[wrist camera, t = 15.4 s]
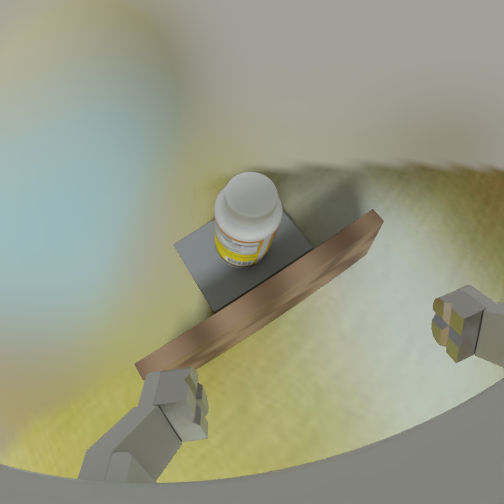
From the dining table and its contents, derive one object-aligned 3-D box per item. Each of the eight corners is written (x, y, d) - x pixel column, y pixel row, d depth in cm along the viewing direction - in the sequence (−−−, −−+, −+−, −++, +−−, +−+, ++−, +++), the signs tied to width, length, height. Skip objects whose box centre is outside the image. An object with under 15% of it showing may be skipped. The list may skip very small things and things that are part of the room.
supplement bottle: (251, 211, 34) (265, 153, 24) (278, 254, 33) (303, 208, 23) (204, 233, 33) (201, 178, 23) (230, 279, 31) (236, 239, 22)
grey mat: (264, 193, 37) (264, 189, 36) (312, 250, 33) (313, 247, 32) (175, 247, 35) (173, 244, 34) (215, 313, 31) (214, 311, 30)
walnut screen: (357, 243, 33) (372, 208, 27) (366, 254, 32) (383, 221, 26) (164, 370, 29) (134, 363, 23) (171, 383, 28) (142, 379, 22)
